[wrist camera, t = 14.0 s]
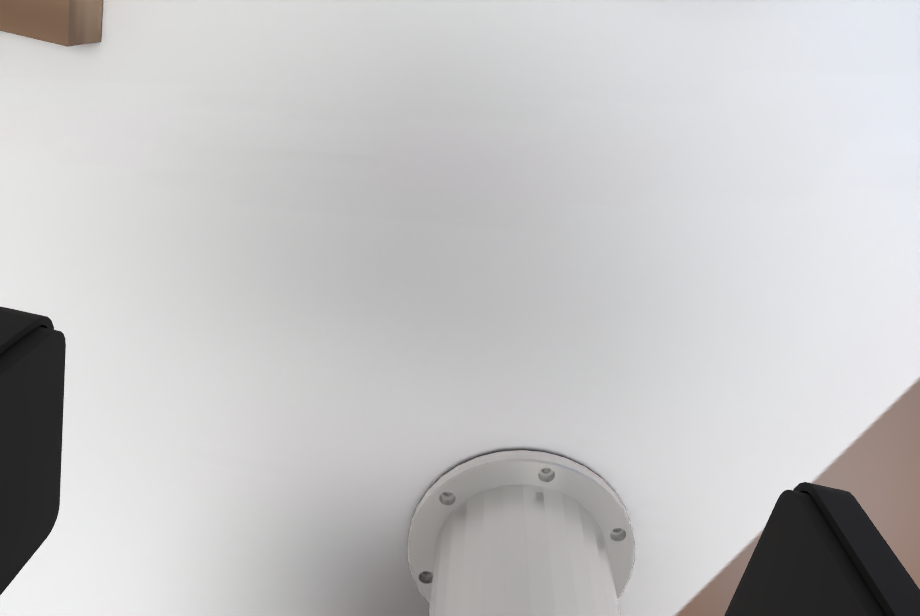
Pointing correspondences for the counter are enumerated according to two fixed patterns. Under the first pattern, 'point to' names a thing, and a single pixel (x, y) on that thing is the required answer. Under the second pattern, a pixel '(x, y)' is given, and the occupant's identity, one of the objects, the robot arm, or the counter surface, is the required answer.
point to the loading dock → (53, 20)
